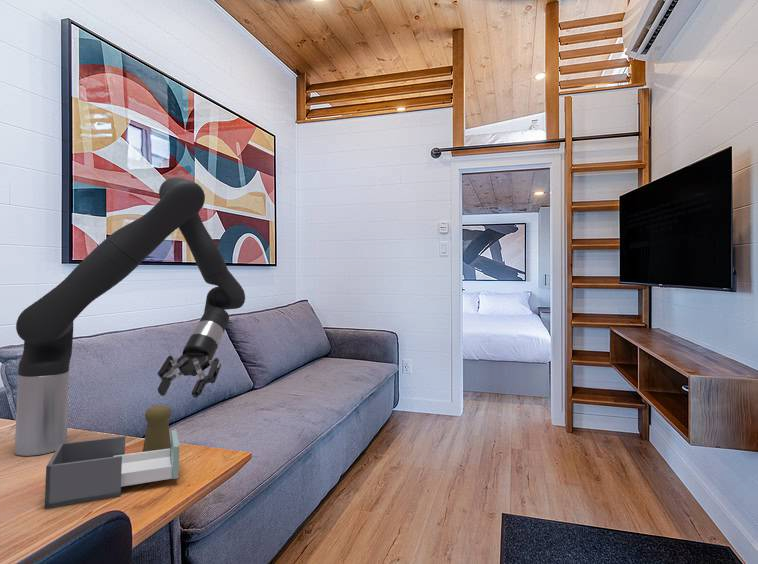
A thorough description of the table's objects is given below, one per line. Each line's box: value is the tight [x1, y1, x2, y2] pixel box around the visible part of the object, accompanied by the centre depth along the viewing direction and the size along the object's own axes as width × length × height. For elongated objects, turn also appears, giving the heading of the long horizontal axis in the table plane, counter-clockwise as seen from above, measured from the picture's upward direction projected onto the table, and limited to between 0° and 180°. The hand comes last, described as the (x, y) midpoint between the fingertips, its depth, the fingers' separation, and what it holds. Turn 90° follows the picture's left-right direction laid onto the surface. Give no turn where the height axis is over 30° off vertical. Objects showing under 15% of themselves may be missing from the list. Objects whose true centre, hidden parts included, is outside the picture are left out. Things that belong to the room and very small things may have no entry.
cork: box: [142, 404, 172, 452], centre depth 96 cm, size 6×6×11 cm
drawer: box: [113, 429, 180, 487], centre depth 84 cm, size 11×11×6 cm
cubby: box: [44, 435, 126, 510], centre depth 80 cm, size 11×12×7 cm
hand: (177, 394), depth 103 cm, fingers open, 8 cm apart
